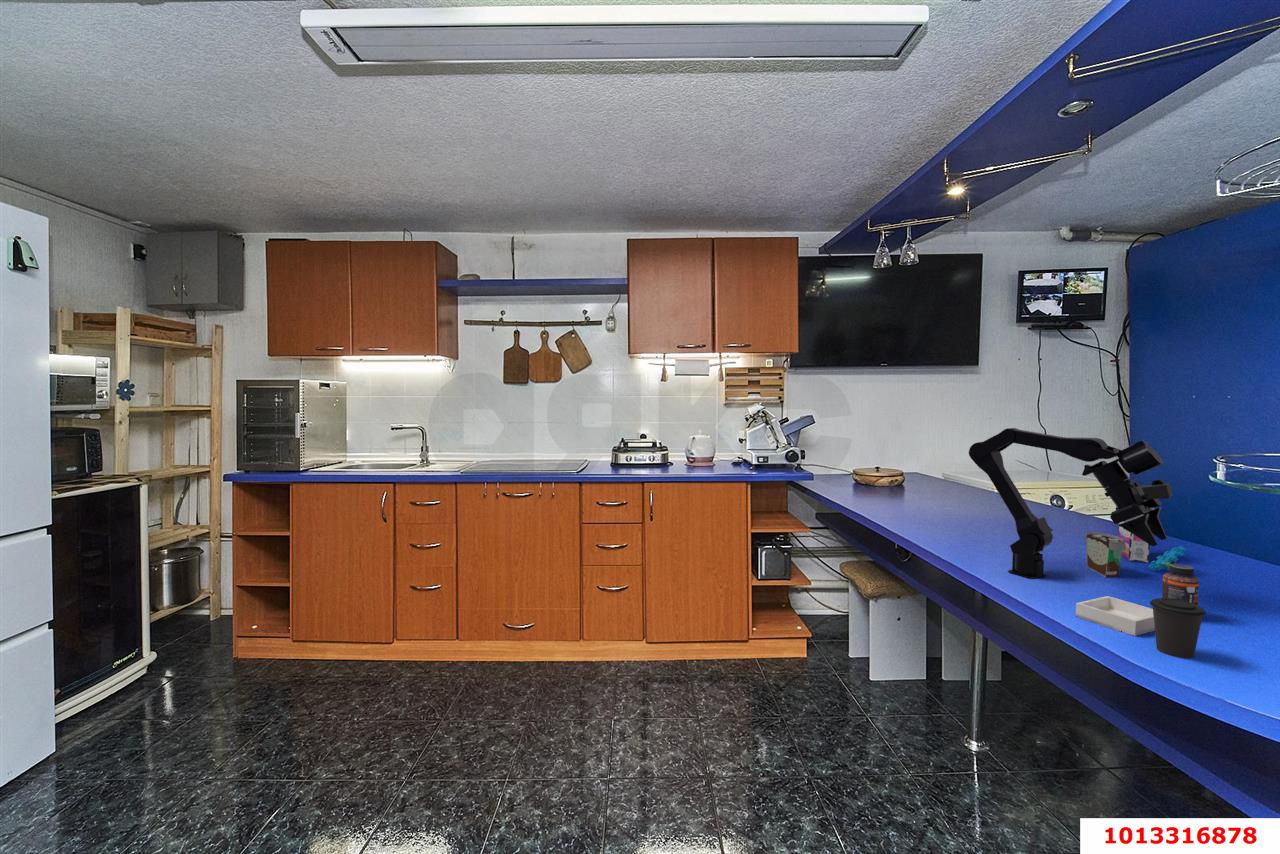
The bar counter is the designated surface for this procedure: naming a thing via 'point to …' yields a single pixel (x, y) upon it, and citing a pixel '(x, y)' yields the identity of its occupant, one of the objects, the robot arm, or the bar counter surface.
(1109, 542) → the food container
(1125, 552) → the candy bar box
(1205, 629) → the bar counter surface
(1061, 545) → the bar counter surface
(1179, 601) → the coffee cup
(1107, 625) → the tray
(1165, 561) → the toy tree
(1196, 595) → the supplement bottle
